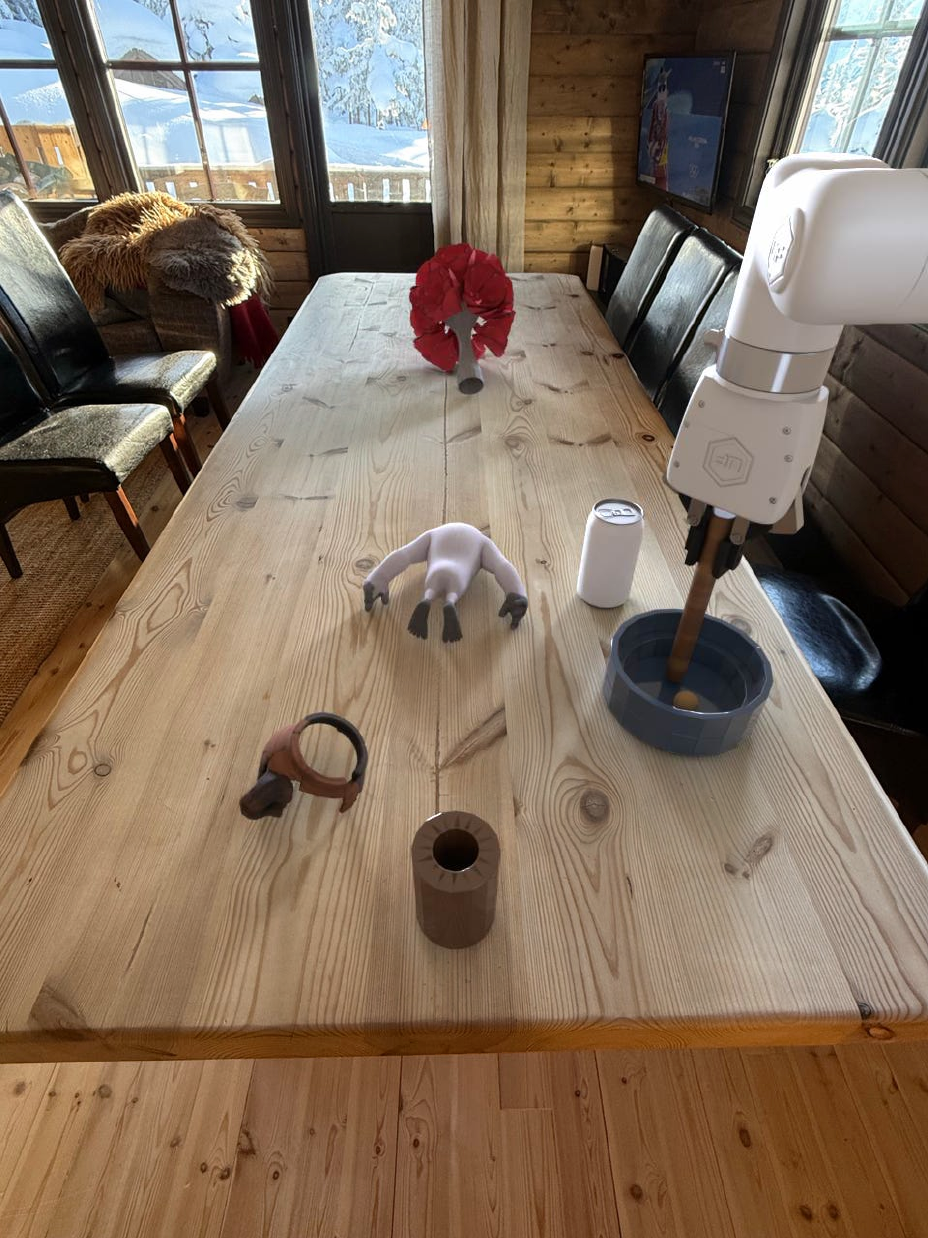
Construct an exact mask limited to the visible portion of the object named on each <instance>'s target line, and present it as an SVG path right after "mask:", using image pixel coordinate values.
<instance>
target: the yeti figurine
mask: <svg viewBox="0 0 928 1238" xmlns="http://www.w3.org/2000/svg"><path fill="white" fill-rule="evenodd" d="M425 562H426V573H425V580H424V583H423V588H424V598H423V599H422V600H420V601H418V602H417V605H416V606H415V608H414V610H413V612H412V614H411V617H410V619H409V622H408V625H407V628H406V630H407V631H409V634H412V636H415V637H416V638H417V639H419V638H421V639H422V640H427V639H428V635H429V634H428V632H429V627H428V624H429V623H428V621H429V620H428V619H429V616H430V611H431V608H432V602H434V601H435V600H436V601H438V602H441V603H444V605H443V608H442V613H443V627H442V628H443V629H442V633H441V634H442V635H441V641H442V642H443V643H448V642H449V643H450V644H453V643H454V642H455V643H456V642H460V641H461V639H464V638H463V637H464V635H463V631H462V627H461V622H460V619H459V616H458V611H457V609H456V606H455V604H456V603H457V602H458V601H459V600H460V599H461V598H462V597H464V596H465V595H466V593H467V592H468V590H469V587H470V586H471V583H472V581H473V580H474V579H475V577H477V576H478V574H479V573H480V571H481V569H482V570H483V571H485V572H488V573H489V574H491V575H494V579H495V581H496V583H497V585H499V587H500V588H501V589H502V590H503V592H504V596H505V599H504V601H503V603H502V605H501V606H500V609H499V611H498V613H497V615H498V617H499V618H501V619H502V618H504V617H506V616H507V614H510V617H511V621H510V624H509V627H510V628H511V630H515V629H518V627H519V626H520V622H521V621H522V619H523V618H524V616H526V613H527V610H528V607H529V601H528V600H529V599H528V595H527V592H526V589H525V587H524V584H523V582H522V579H521V577H520V575H519V573H518V570H517V569H516V567H515V566H514V565H513V564H512V563H511V562H510V561H508V560H507V558H505V557H504V555H503V554H502V552H501V551H500V549H499V548H498V547H497V546H496V544H495V543H494V541H493V540H492V539H491V538H489V537H488V536H486V535H484V534H483V533H482V532H481V531H480V530H479V529H478V528H476V527H475V526H473V525H470V524H468V523H463V522H449V523H445V524H442V525H440V526H438V527H436V528H432V529H429V530H426V531H425V532H423V533H422V534H420V535H419V536H418V537H416V538H415V539H414V540H412V541H411V542H409V543H407V544H406V545H404V546H402V547H400V548H398V549H395V550H393V551H392V552H390V553H389V554H388V555H387V556H386V557H385V558H384V559H383V560H382V561H381V562H380V563H379V564H378V565H377V566H376V567H375V568H374V569H373V570H372V571H371V572H370V574H369V575H368V576H367V577H366V579H365V580H364V583H363V586H362V592H363V603H364V611H365V612H366V613H370V612H371V611H372V610H373V606H374V604H375V602H376V601H377V600H378V599H379V598H380V601H381V603H382V604H383V605H388V604H389V602H390V583H391V582H393V580H394V579H395V578H396V577H398V576H399V575H401V574H402V573H404V572H405V571H406V570H407V569H408V568H409V566H410V565H417V564H420V563H425Z"/></svg>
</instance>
